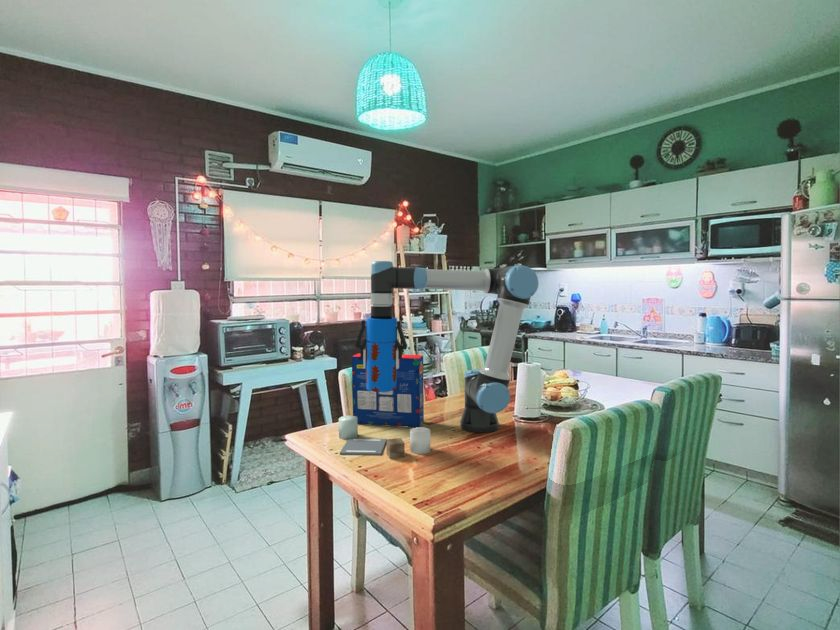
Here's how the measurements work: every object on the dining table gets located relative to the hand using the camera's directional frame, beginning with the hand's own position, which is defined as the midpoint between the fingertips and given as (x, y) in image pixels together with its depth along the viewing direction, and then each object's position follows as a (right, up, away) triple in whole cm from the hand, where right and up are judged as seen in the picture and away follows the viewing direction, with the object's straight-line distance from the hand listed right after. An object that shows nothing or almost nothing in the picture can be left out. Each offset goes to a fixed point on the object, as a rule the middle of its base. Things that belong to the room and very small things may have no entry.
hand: (381, 367), depth 161 cm
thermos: (0, -8, +1) cm, 8 cm away
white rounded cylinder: (+14, -28, -4) cm, 31 cm away
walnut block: (+5, -29, -8) cm, 30 cm away
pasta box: (+1, -26, +27) cm, 38 cm away
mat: (-6, -28, 0) cm, 29 cm away
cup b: (-13, -27, +11) cm, 32 cm away
